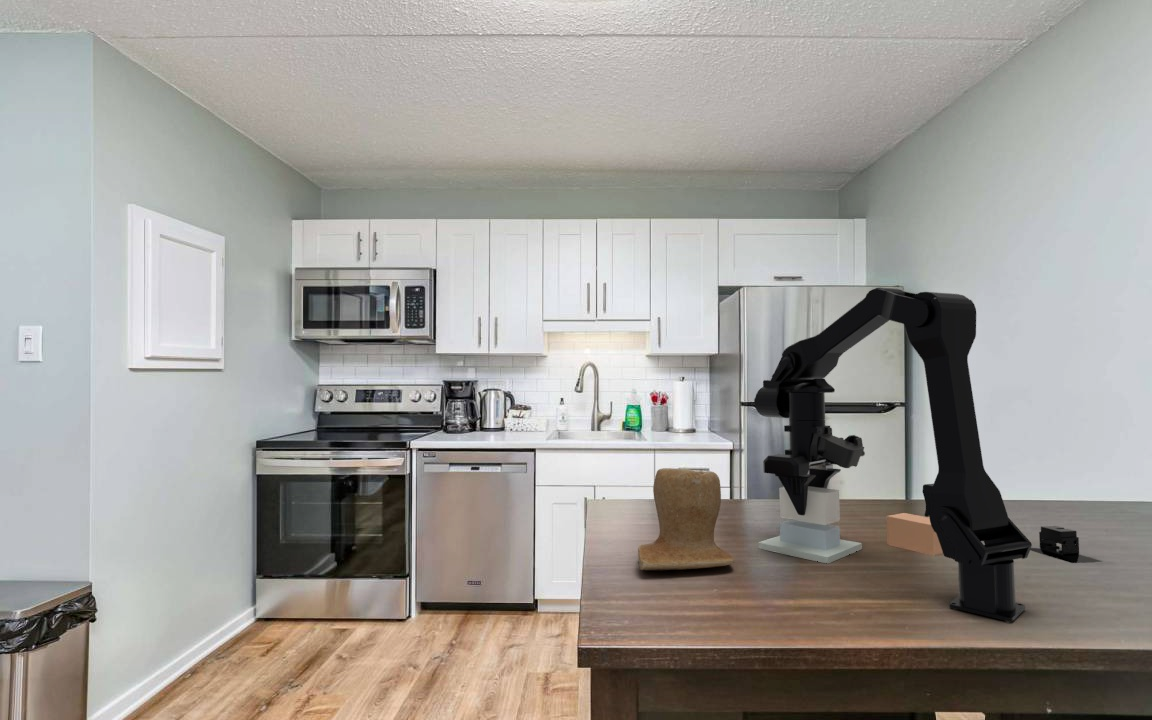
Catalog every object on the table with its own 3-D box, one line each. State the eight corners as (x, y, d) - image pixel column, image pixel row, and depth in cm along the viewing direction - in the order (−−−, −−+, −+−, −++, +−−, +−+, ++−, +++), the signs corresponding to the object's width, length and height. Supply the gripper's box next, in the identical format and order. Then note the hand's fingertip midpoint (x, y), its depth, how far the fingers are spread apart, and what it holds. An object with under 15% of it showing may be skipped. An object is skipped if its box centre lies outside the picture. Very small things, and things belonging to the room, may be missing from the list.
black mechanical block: (1117, 567, 92) (1116, 536, 92) (1075, 570, 91) (1074, 539, 91) (1043, 546, 104) (1042, 519, 105) (1006, 548, 103) (1005, 521, 104)
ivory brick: (825, 525, 97) (824, 493, 97) (780, 517, 103) (779, 487, 103) (839, 520, 101) (839, 490, 101) (794, 513, 107) (794, 484, 107)
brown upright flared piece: (713, 552, 100) (711, 461, 101) (743, 574, 88) (741, 471, 89) (623, 557, 98) (622, 463, 99) (642, 580, 86) (640, 474, 87)
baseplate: (827, 563, 93) (827, 537, 93) (758, 548, 102) (757, 524, 102) (861, 549, 101) (861, 525, 101) (794, 536, 110) (794, 514, 110)
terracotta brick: (933, 556, 97) (932, 525, 97) (887, 545, 104) (886, 516, 104) (951, 552, 100) (950, 521, 100) (904, 541, 107) (903, 512, 107)
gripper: (827, 424, 90) (829, 530, 90) (879, 419, 103) (882, 512, 102) (760, 421, 99) (762, 518, 98) (816, 416, 111) (818, 502, 110)
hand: (809, 512), depth 102 cm, fingers closed on ivory brick, 5 cm apart
